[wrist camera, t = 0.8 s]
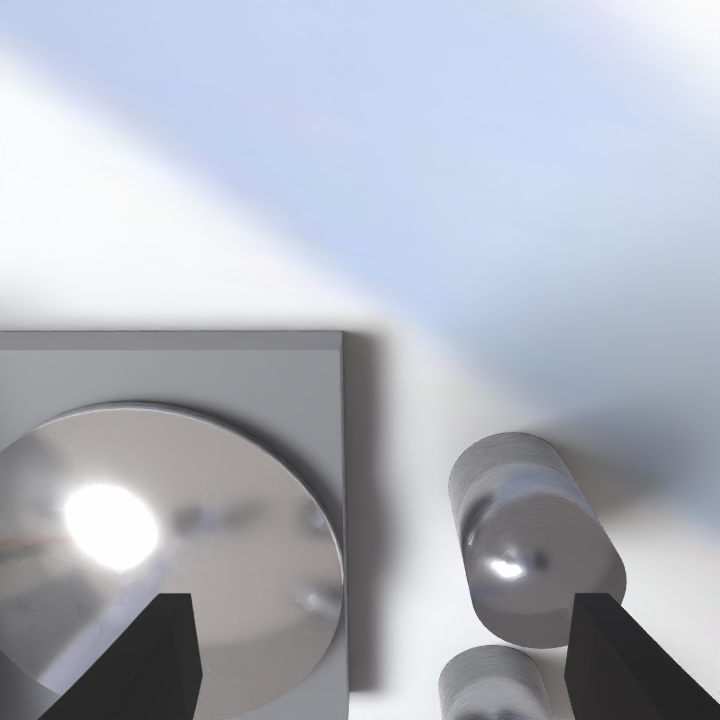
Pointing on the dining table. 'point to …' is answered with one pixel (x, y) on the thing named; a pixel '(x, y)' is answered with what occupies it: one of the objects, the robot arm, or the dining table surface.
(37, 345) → the scale
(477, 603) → the cylinder
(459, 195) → the dining table surface
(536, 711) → the cylinder
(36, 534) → the pan
